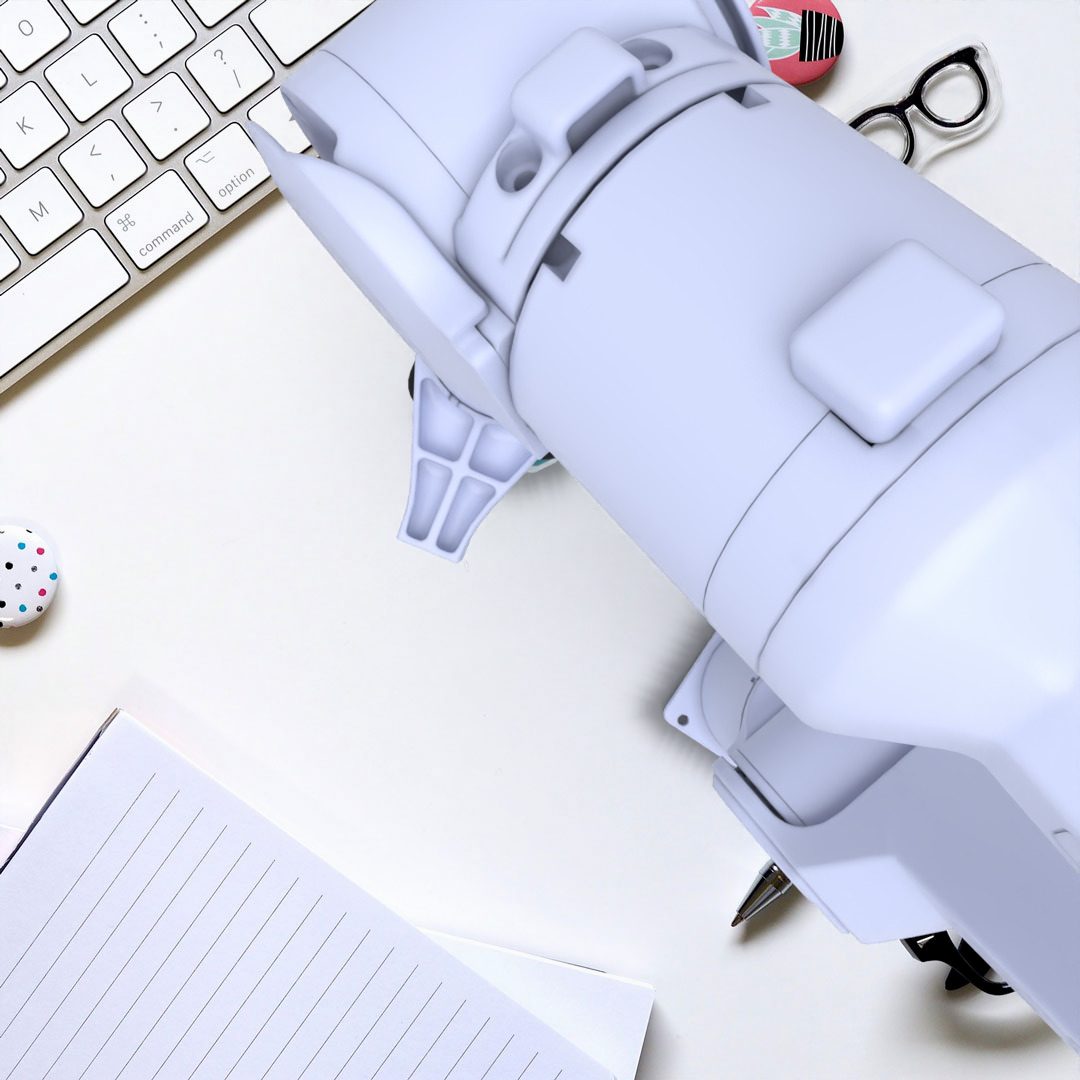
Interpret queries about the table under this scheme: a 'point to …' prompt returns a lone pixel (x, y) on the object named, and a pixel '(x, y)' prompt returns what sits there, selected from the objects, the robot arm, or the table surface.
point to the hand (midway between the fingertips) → (519, 371)
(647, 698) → the table surface
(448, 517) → the robot arm
